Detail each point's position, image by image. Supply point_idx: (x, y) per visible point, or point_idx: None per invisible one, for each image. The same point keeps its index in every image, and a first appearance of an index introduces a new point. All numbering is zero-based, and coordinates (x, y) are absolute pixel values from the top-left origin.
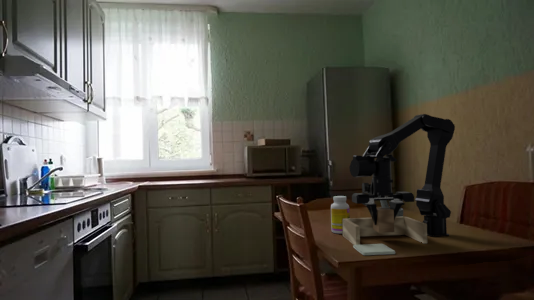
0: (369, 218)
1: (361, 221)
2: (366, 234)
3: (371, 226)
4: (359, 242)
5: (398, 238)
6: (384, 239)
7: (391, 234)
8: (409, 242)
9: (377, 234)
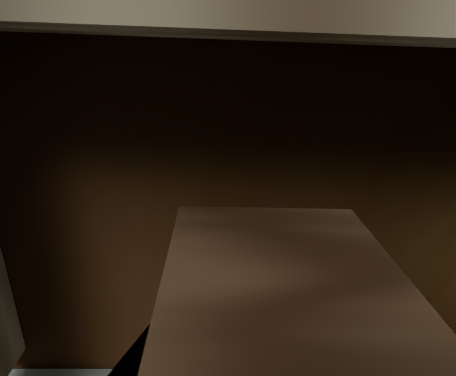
0: (183, 28)
1: (32, 23)
2: (159, 36)
3: (220, 35)
4: (8, 370)
5: (401, 189)
6: (272, 200)
7: (434, 46)
8: None
9: (284, 41)
